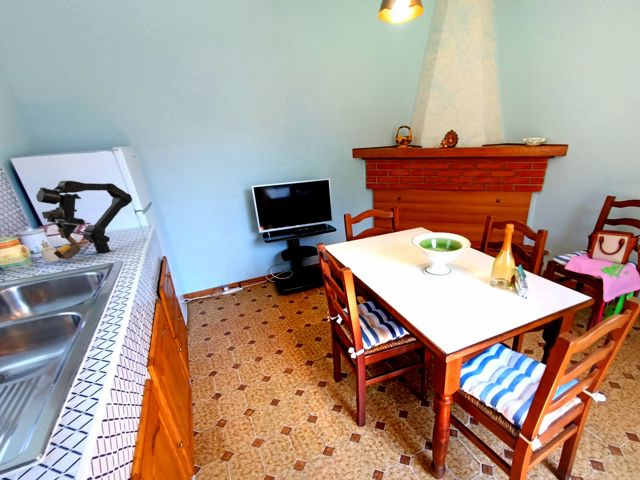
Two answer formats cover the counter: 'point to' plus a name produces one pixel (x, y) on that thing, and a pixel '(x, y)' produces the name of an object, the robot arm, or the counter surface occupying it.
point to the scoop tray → (71, 251)
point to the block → (63, 248)
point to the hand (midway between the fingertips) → (64, 238)
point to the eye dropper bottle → (48, 253)
